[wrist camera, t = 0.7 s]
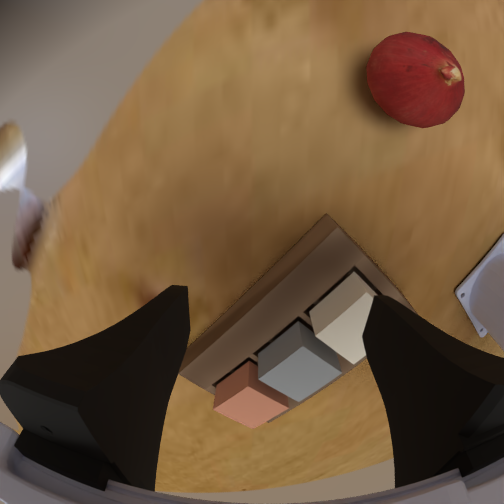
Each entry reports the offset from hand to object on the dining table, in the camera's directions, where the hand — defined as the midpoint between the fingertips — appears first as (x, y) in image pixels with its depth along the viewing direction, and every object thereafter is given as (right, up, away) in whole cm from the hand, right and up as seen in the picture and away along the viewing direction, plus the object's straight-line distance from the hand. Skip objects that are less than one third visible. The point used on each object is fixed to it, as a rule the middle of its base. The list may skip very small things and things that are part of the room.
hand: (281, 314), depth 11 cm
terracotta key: (-1, -8, +11) cm, 14 cm away
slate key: (+2, -5, +10) cm, 11 cm away
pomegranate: (+8, +14, +5) cm, 17 cm away
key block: (+2, -4, +12) cm, 13 cm away
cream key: (+6, -1, +8) cm, 10 cm away
